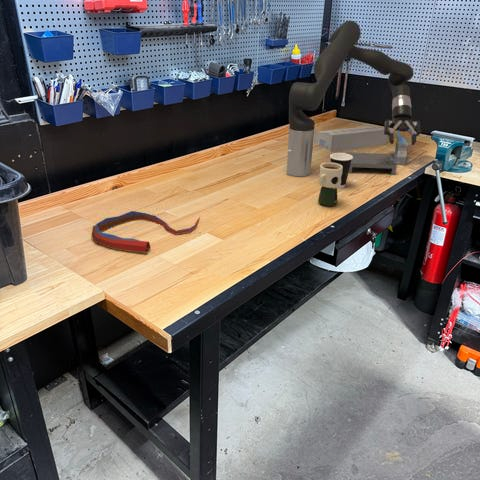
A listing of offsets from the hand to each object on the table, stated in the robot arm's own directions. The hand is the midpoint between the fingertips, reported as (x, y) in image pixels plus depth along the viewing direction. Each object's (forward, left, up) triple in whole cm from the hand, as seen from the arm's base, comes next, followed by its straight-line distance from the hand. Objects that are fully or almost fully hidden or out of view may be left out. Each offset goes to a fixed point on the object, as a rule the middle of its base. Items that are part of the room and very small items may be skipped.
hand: (402, 143), depth 187 cm
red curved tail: (-86, -73, -8) cm, 114 cm away
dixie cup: (-28, -32, -8) cm, 43 cm away
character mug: (-33, -49, -8) cm, 59 cm away
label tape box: (0, -1, -8) cm, 8 cm away
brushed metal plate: (-14, -11, -7) cm, 19 cm away
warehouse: (-18, +23, -8) cm, 30 cm away
